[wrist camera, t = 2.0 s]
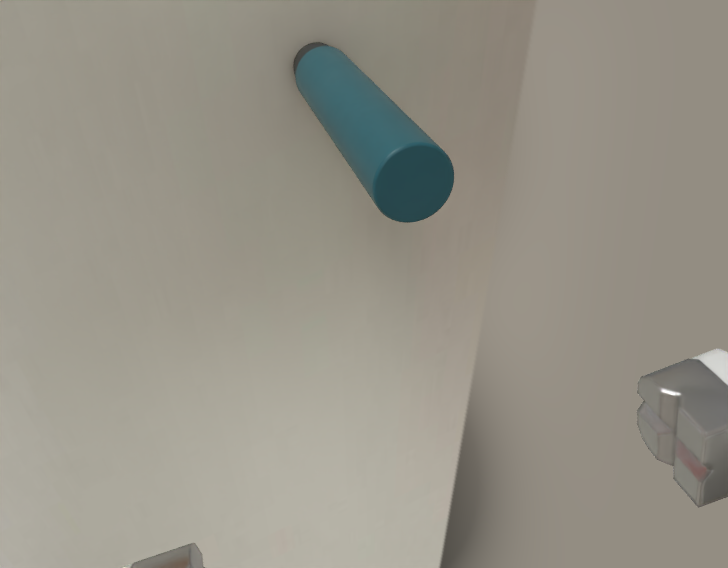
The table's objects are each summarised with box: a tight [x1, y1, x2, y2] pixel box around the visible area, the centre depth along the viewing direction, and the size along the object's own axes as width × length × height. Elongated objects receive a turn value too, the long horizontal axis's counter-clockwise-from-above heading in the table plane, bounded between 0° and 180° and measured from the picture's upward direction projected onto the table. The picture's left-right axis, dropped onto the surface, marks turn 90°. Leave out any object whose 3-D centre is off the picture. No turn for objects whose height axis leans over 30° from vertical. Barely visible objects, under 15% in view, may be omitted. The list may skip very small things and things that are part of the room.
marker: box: [294, 43, 454, 222], centre depth 25 cm, size 2×2×13 cm
